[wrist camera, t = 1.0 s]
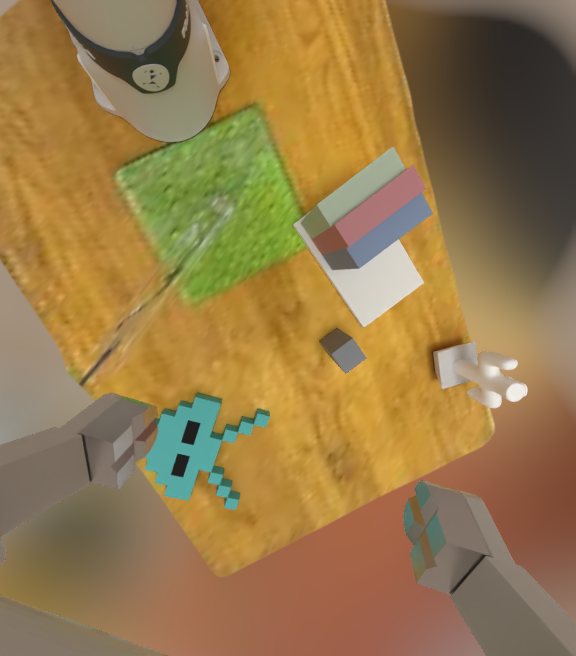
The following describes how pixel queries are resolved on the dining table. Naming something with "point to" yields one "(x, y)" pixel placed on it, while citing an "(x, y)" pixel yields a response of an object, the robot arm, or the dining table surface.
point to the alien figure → (195, 447)
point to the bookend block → (343, 350)
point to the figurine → (478, 373)
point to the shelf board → (370, 280)
